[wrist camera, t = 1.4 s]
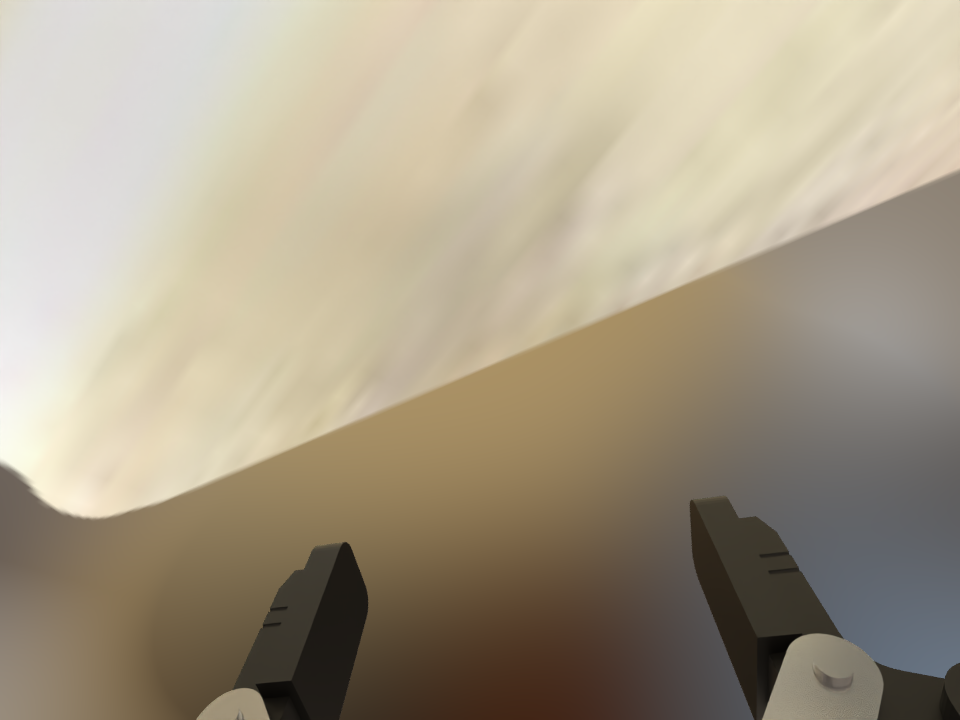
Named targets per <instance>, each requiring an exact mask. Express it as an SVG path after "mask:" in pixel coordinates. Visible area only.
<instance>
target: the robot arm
mask: <svg viewBox="0 0 960 720" xmlns="http://www.w3.org/2000/svg"><path fill="white" fill-rule="evenodd" d="M690 521H691V539H692V554H693V560H694V566H695V570H696V573H697V577H698V580H699V582H700V585H701V587H702V590H703V592H704V594H705V597H706V600H707V602H708V605H709V607H710V610H711V612H712V615H713V617H714V620H715V622H716V625H717V627H718V630H719V633H720V635H721V637H722V640H723V643H724V645H725V647H726V650H727V652H728V655H729V658H730V660H731V663H732V665H733V668H734V670H735V673H736V675H737V677H738V680H739V683H740V685H741V688H742V690H743V693H744V695H745V698H746V700H747V703H748V705H749V707H750V710H751V713H752V715H753V718H754V720H960V663H958V664H956V665H954V666H953V667H951V668H950V669H949V670H948V672H947V674H946V676H945V679H944V678H937V677H933V676H927V675H922V674H917V673H911V672H906V671H901V670H897V669H893V668H889V667H887V666H884V665H881V664H879V663H877V662H874V661H873V660H872V659H871V657H870V656H868V655H867V654H866V653H865V652H864V651H863V650H862V649H860V648H859V647H857V646H856V645H854V644H852V643H851V642H849V641H847V640H844V639H843V637H842V636H841V634H840V633H839V632H838V630H837V628H836V627H835V625H834V624H833V622H832V620H831V619H830V617H829V616H828V614H827V612H826V611H825V609H824V608H823V606H822V604H821V603H820V601H819V600H818V598H817V596H816V595H815V593H814V591H813V590H812V588H811V587H810V585H809V584H808V582H807V580H806V579H805V577H804V575H803V574H802V572H800V571H799V568H798V566H797V564H796V563H795V561H794V559H793V558H792V556H791V555H789V551H788V550H787V548H786V547H785V545H784V543H783V542H782V540H781V539H780V537H779V535H778V534H777V532H776V531H775V530H773V529H772V528H771V527H769V526H768V525H767V524H765V523H764V522H763V521H761V520H760V519H759V518H757V517H756V516H755V517H747V518H738V516H737V514H736V512H735V510H734V509H733V507H732V505H731V503H730V502H729V500H728V498H727V497H726V496H719V497H711V498H702V499H694V500H691V501H690ZM367 613H368V595H367V589H366V586H365V583H364V581H363V578H362V575H361V573H360V570H359V567H358V565H357V562H356V559H355V557H354V554H353V551H352V549H351V547H350V545H349V544H348V543H347V542H343V543H335V544H327V545H319V546H315V548H314V549H313V550H312V552H311V554H310V557H309V559H308V562H307V564H306V566H305V568H304V570H297V571H294V573H293V574H292V575H291V576H290V577H289V579H287V580H286V582H285V583H284V584H283V585H282V586H281V587H280V588H279V590H278V592H277V595H276V597H275V599H274V601H273V603H272V605H271V607H270V612H268V614H267V616H266V618H265V620H264V623H263V628H261V629H260V631H259V633H258V636H257V638H256V640H255V642H254V644H253V647H252V649H251V651H250V653H249V655H248V657H247V660H246V662H245V664H244V666H243V669H242V670H241V673H240V675H239V677H238V679H237V681H236V683H235V686H234V688H233V690H232V691H230V692H227V693H225V694H224V695H222V696H220V697H219V698H217V699H216V700H214V701H213V702H212V703H211V704H210V705H208V706H207V708H206V709H205V710H204V711H203V712H202V713H201V714H200V716H199V717H198V718H197V720H339V718H340V714H341V711H342V707H343V703H344V700H345V696H346V692H347V688H348V684H349V681H350V677H351V673H352V670H353V666H354V662H355V658H356V655H357V651H358V647H359V644H360V640H361V636H362V632H363V629H364V624H365V621H366V617H367Z"/></svg>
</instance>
